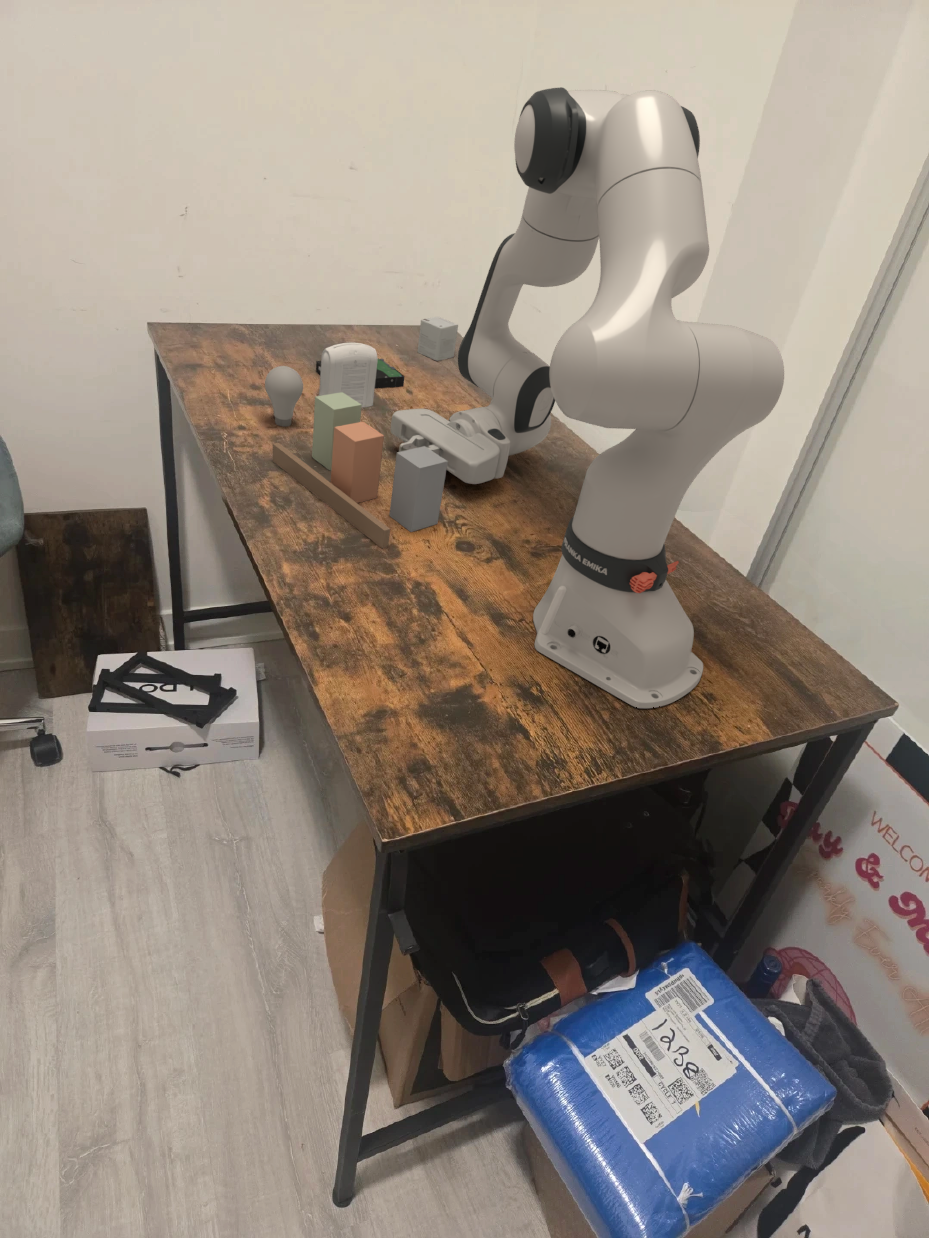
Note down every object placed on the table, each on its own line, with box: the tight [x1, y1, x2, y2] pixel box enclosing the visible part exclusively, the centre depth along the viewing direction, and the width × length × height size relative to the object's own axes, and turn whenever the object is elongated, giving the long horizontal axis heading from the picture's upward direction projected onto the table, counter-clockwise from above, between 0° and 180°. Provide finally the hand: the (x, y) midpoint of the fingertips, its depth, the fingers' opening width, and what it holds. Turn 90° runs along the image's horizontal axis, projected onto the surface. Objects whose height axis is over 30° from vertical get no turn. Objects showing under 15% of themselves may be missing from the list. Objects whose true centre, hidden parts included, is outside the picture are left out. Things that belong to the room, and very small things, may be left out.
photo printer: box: [318, 342, 379, 408], centre depth 141 cm, size 10×4×12 cm, turn 123°
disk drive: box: [315, 357, 406, 390], centre depth 157 cm, size 10×3×15 cm
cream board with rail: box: [271, 442, 391, 549], centre depth 119 cm, size 28×19×4 cm
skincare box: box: [417, 316, 459, 362], centre depth 174 cm, size 6×6×7 cm
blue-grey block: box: [388, 446, 448, 533], centre depth 111 cm, size 5×5×10 cm
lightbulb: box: [264, 365, 304, 428], centre depth 130 cm, size 6×6×11 cm
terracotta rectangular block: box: [330, 421, 385, 504], centre depth 115 cm, size 5×5×10 cm
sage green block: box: [311, 392, 363, 472], centre depth 122 cm, size 5×5×10 cm
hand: (404, 453), depth 120 cm, fingers closed
